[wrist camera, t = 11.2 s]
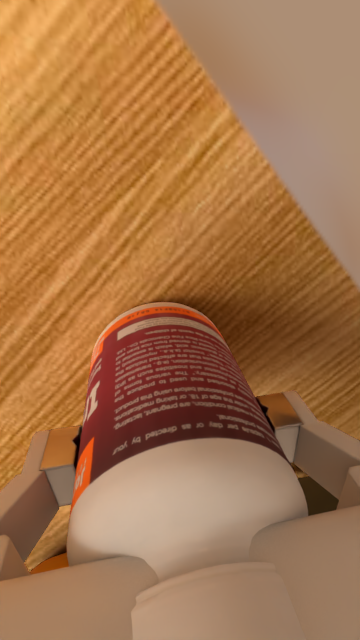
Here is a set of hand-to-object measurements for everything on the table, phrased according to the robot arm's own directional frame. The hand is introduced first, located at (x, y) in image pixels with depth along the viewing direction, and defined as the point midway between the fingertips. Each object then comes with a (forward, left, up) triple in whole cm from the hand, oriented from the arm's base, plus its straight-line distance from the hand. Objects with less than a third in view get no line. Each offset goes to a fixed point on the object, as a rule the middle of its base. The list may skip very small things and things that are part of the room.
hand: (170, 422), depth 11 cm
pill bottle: (0, 0, -4) cm, 4 cm away
